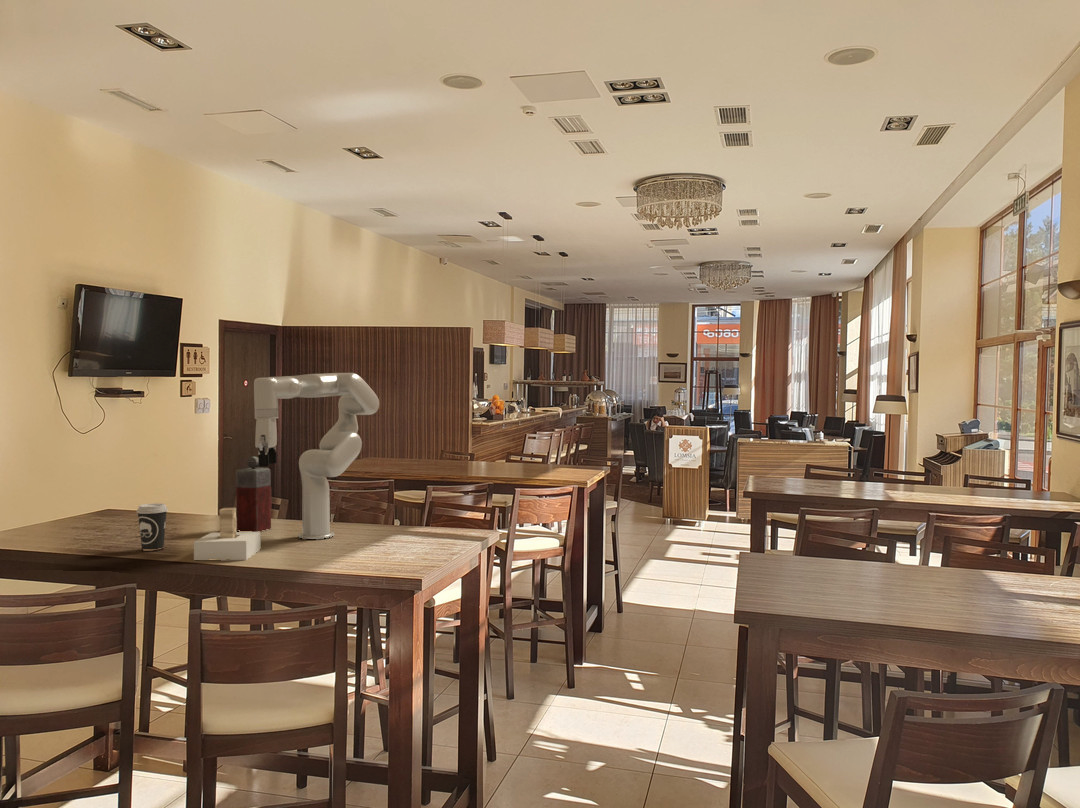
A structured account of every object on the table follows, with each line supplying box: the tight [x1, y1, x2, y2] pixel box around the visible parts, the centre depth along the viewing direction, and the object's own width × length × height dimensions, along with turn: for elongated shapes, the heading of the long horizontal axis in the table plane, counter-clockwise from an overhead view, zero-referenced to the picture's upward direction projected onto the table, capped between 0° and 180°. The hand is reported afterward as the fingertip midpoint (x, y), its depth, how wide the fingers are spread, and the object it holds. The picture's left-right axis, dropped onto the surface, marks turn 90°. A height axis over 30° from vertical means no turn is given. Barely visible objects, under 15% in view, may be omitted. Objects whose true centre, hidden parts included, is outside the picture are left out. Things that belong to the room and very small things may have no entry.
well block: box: [193, 531, 262, 561], centre depth 255 cm, size 16×16×6 cm
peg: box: [219, 507, 237, 539], centre depth 255 cm, size 4×4×15 cm
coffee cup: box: [135, 503, 169, 550], centre depth 263 cm, size 10×10×15 cm
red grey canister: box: [235, 456, 272, 532], centre depth 300 cm, size 9×11×28 cm
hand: (267, 464), depth 266 cm, fingers open, 9 cm apart
